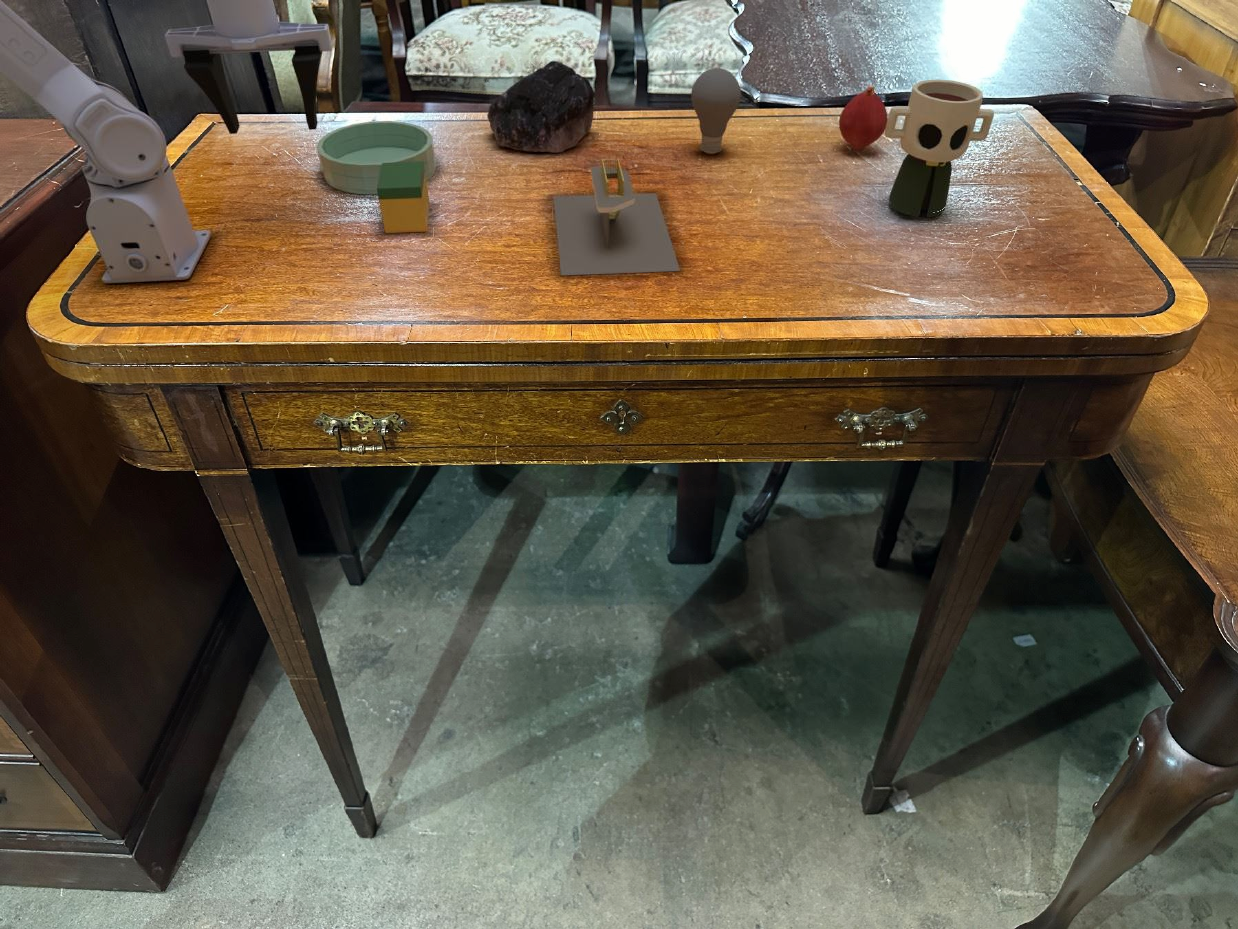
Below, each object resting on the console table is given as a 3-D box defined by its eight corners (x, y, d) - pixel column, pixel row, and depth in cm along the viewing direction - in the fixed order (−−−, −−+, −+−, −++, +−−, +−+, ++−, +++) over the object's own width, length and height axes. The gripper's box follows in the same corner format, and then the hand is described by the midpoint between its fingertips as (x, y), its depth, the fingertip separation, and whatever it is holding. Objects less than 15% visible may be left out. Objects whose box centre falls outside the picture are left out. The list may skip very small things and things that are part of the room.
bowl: (434, 192, 94) (429, 162, 92) (316, 196, 93) (309, 166, 91) (438, 147, 104) (434, 119, 102) (331, 150, 103) (325, 122, 100)
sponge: (427, 231, 87) (420, 186, 84) (385, 233, 87) (376, 188, 84) (429, 204, 92) (423, 160, 89) (390, 206, 92) (381, 162, 88)
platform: (655, 193, 95) (658, 136, 91) (680, 270, 82) (684, 208, 78) (553, 196, 94) (550, 138, 90) (561, 275, 81) (558, 212, 77)
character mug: (872, 221, 91) (902, 100, 82) (861, 193, 96) (888, 76, 87) (971, 225, 90) (1012, 104, 82) (955, 197, 96) (991, 80, 87)
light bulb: (678, 147, 105) (684, 64, 98) (719, 140, 107) (727, 58, 100) (701, 165, 101) (708, 80, 94) (743, 157, 103) (753, 73, 96)
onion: (825, 144, 107) (837, 79, 101) (864, 139, 108) (878, 75, 103) (847, 161, 103) (861, 95, 97) (888, 156, 104) (904, 91, 99)
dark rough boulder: (474, 134, 109) (462, 57, 102) (561, 106, 114) (555, 31, 106) (523, 177, 102) (514, 98, 94) (613, 146, 107) (612, 68, 99)
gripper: (137, -11, 70) (191, 147, 79) (313, -16, 72) (345, 138, 82) (156, -30, 75) (204, 120, 85) (319, -34, 77) (349, 113, 87)
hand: (274, 128), depth 83 cm, fingers open, 7 cm apart
